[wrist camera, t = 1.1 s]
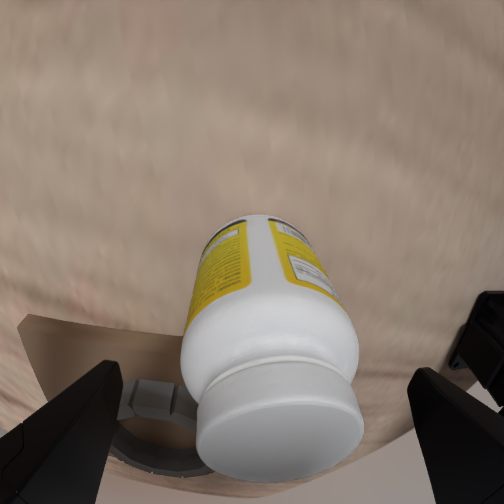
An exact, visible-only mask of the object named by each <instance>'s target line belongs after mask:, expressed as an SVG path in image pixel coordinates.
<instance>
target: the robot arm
mask: <svg viewBox="0 0 504 504" xmlns="http://www.w3.org/2000/svg"><path fill="white" fill-rule="evenodd" d="M449 367H450V368H451V370H456V369H462V368H467V367H469V369H470V370H471V371H472V373H473V374H474V376H475V377H476V378H477V380H478V381H479V382H480V384H481V385H482V387H483V388H484V389H487V390H488V392H489V393H490V395H491V396H492V398H493V399H494V401H495V402H496V403H497V405H498V406H499V407H501V406H503V408H502V409H501V410H500V411H499V412H498V413H497V412H495V411H494V410H492V409H490V408H489V407H488V406H486V405H485V404H483V403H482V402H480V401H479V400H477V399H475V398H474V397H473V396H471V395H470V394H468V393H467V392H465V391H464V390H462V389H461V388H459V387H458V386H456V385H455V384H453V383H452V382H450V381H449V380H447V379H446V378H444V377H443V376H441V375H440V374H439V373H437V372H436V371H434V370H433V369H431V368H429V367H423V368H418V369H417V370H416V371H415V373H414V375H413V377H412V379H411V381H410V383H409V385H408V388H407V394H408V398H409V403H410V407H411V412H412V416H413V421H414V426H415V430H416V434H417V437H418V440H419V444H420V447H421V450H422V454H423V457H424V460H425V464H426V467H427V471H428V475H429V478H430V482H431V486H432V489H433V494H434V497H435V502H436V504H504V291H484V292H483V293H482V294H481V295H480V297H479V299H478V302H477V304H476V307H475V309H474V311H473V314H472V316H471V318H470V321H469V323H468V325H467V327H466V329H465V332H464V334H463V336H462V338H461V340H460V342H459V344H458V346H457V348H456V350H455V352H454V354H453V356H452V358H451V360H450V362H449ZM122 391H123V379H122V375H121V370H120V366H119V363H118V362H117V361H113V360H107V359H105V360H103V361H101V362H100V363H99V364H97V365H96V366H95V367H93V368H92V369H91V370H89V371H88V372H87V373H85V374H84V375H83V376H82V377H80V378H79V379H78V380H76V381H75V382H74V383H72V384H71V385H70V386H68V387H67V388H66V389H65V390H63V391H62V392H61V393H59V394H58V395H57V396H55V397H54V398H53V399H51V400H50V401H49V402H48V403H46V404H45V405H44V406H42V407H41V408H40V409H38V410H37V411H36V412H35V413H33V414H32V415H31V416H29V417H28V418H27V419H25V420H24V421H23V424H22V423H20V424H19V425H17V426H16V427H15V428H14V429H12V430H11V431H9V432H8V433H7V434H5V435H4V436H3V437H1V438H0V504H95V501H96V497H97V494H98V490H99V486H100V482H101V478H102V475H103V471H104V467H105V464H106V460H107V457H108V453H109V450H110V447H111V443H112V440H113V436H114V433H115V428H116V423H117V417H118V411H119V406H120V401H121V396H122Z"/></svg>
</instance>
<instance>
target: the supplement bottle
mask: <svg viewBox="0 0 504 504" xmlns="http://www.w3.org/2000/svg"><path fill="white" fill-rule="evenodd" d="M358 361H359V343H358V338H357V335H356V332H355V329H354V327H353V325H352V322H351V320H350V318H349V316H348V314H347V312H346V310H345V308H344V307H343V305H342V303H341V301H340V299H339V297H338V295H337V293H336V291H335V289H334V287H333V286H332V284H331V282H330V280H329V278H328V276H327V274H326V272H325V271H324V269H323V267H322V265H321V263H320V261H319V260H318V258H317V256H316V254H315V252H314V251H313V249H312V247H311V245H310V244H309V242H308V241H307V239H306V238H305V237H304V235H303V234H302V233H301V232H300V231H299V230H298V229H297V228H296V227H294V226H293V225H292V224H290V223H288V222H287V221H285V220H283V219H280V218H277V217H274V216H269V215H249V216H244V217H240V218H237V219H235V220H232V221H230V222H228V223H227V224H225V225H224V226H222V227H221V228H220V229H218V230H217V231H216V232H215V233H214V234H213V235H212V237H211V238H210V239H209V241H208V242H207V244H206V246H205V248H204V251H203V253H202V256H201V259H200V263H199V268H198V272H197V278H196V282H195V287H194V291H193V296H192V300H191V305H190V310H189V314H188V318H187V323H186V327H185V332H184V336H183V341H182V348H181V356H180V366H181V373H182V376H183V379H184V382H185V385H186V387H187V389H188V391H189V393H190V394H191V396H192V397H193V399H194V400H195V401H196V402H197V403H198V404H199V406H198V409H197V433H196V449H197V452H198V454H199V456H200V458H201V460H202V461H203V462H204V463H205V464H206V465H207V466H208V467H209V468H211V469H212V470H214V471H216V472H218V473H220V474H222V475H224V476H227V477H231V478H234V479H238V480H244V481H250V482H283V481H290V480H296V479H300V478H304V477H308V476H311V475H314V474H317V473H320V472H322V471H324V470H327V469H329V468H331V467H333V466H334V465H336V464H338V463H340V462H341V461H342V460H344V459H345V458H346V457H348V456H349V455H350V454H351V453H352V452H353V451H354V450H355V449H356V447H357V446H358V445H359V443H360V441H361V439H362V437H363V434H364V421H363V418H362V415H361V412H360V409H359V406H358V403H357V400H356V397H355V394H354V391H353V389H352V387H351V385H350V384H351V382H352V380H353V378H354V376H355V373H356V370H357V366H358Z"/></svg>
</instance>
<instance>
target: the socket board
mask: <svg viewBox="0 0 504 504" xmlns="http://www.w3.org/2000/svg"><path fill="white" fill-rule="evenodd" d="M17 329H18V332H19V334H20V337H21V340H22V343H23V345H24V348H25V351H26V353H27V356H28V358H29V361H30V363H31V366H32V368H33V370H34V373H35V375H36V377H37V380H38V382H39V384H40V386H41V388H42V390H43V393H44V395H45V397H46V399H47V401H48V402H49V401H50V400H51V399H53V398H54V397H55V396H57V395H58V394H59V393H61V392H62V391H63V390H65V389H66V388H67V387H68V386H70V385H71V384H72V383H74V382H75V381H76V380H78V379H79V378H80V377H82V376H83V375H84V374H85V373H87V372H88V371H89V370H91V369H92V368H93V367H95V366H96V365H97V364H99V363H100V362H101V361H103V360H105V359H107V360H113V361H117V362H118V363H119V366H120V370H121V375H122V379H123V391H122V396H121V401H120V406H119V411H118V417H117V423H116V428H115V433H114V436H113V440H112V443H111V447H110V450H109V453H108V456H113V457H116V458H118V459H119V460H120V461H124V463H126V464H129V465H131V466H133V467H136V468H138V469H141V470H144V471H146V472H149V473H151V472H152V471H153V473H154V474H158V475H165V476H172V477H181V475H182V476H183V477H185V478H186V477H193V476H201V475H207V474H209V473H213V472H215V471H214V470H212V469H211V468H209V467H208V466H207V465H206V464H205V463H204V462H203V461H202V460H201V458H200V456H199V454H198V452H197V449H196V433H197V409H198V406H199V404H198V403H197V402H196V401H195V400H194V399H193V397H192V396H191V394H190V393H189V391H188V389H187V387H186V385H185V382H184V379H183V376H182V373H181V366H180V356H181V348H182V341H183V337H180V336H170V335H160V334H151V333H143V332H134V331H126V330H119V329H112V328H105V327H98V326H92V325H85V324H79V323H73V322H67V321H62V320H56V319H51V318H46V317H41V316H36V315H31V314H28V315H27V316H26V317H25V318H24V319H23V321H22V322H21V323H20V324H19V325H18V327H17Z"/></svg>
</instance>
